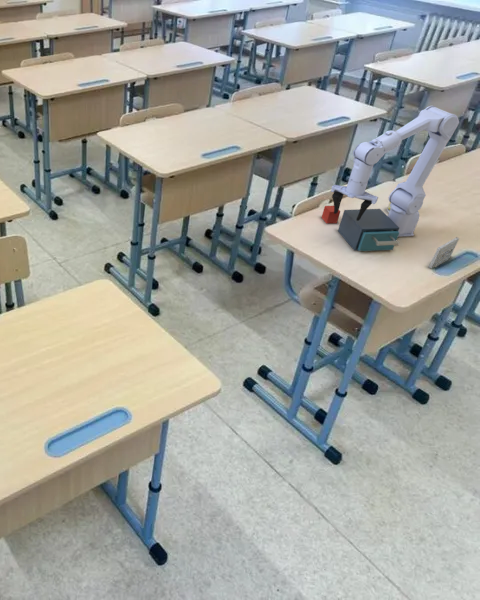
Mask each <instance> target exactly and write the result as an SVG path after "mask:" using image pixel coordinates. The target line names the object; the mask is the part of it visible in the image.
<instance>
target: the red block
mask: <svg viewBox="0 0 480 600" xmlns="http://www.w3.org/2000/svg"><path fill="white" fill-rule="evenodd" d="M340 214H341V210H340V209H339V210H338V212H337V213H336V214H335V213H334V205H324V207H323V211H322V213H321V219H322V220H323V222H324V223H325V224H327V225H329V224H337V223H338V220H339V218H340Z"/></svg>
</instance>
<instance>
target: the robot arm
mask: <svg viewBox="0 0 480 600" xmlns="http://www.w3.org/2000/svg"><path fill="white" fill-rule="evenodd" d="M459 125H460V120H459V117H458V114H455V113H451V112H448V111H446V110H444V109H442V108H438V107H437V106H435V105H429V106H427V107H425V109H422V110H420V112H419V113H418V114H417V116H416V117H415V118H413V120H410V121H409V122H407V123H406V124H404V125H403V126H401V127H399V128H398V129H397V130H387V131H385V132H384V133H383V134H381V135H379V136H377V137H375V138H373V139H372V140H370V141H363V142H360V143H359V144H357V145H356V147H355V149H353V151H352V156H353V161H352V162H353V166H352V168H351V172H350V175H349V178H348V182H347V184H346V186H344V185H338V184H334V185H332V186H331V190H330V192H331V193H333V194H332V195H331V197H332V201H333V206H334V213H335V214H336V213H337V212H338V210H340V208H341V203H342V200H343V198H344V196H347V198H350V199H358V200H362V202H361V204H360V208H359V209H360V212H359V214H358V217H357V221H359V220H360V219H361V217H362V215H363V213H364V212H365V211H366V209H369V207H370V206H371V205H376V204H377V202H378V200H379V196H376V195H374V194H373V193H369V192H368V191H366V189H367V186H368V184H369V180H370V177H371V175H372V171H373V169H374V166H375V164H377V163H378V162H379V161H380V160H381V158H382V157H384V156H385V154H387V153H388V152H391V151H392V150H394V149H396V148H398V147H399V146H401V145H400V144H401V141H404V140H405V139H407V138H410V137H412V136H414V135H417V134H418V133H420V132H422V131H426V132H427V133H428V136H429V138H428V140H427V142H426V144H425V146H424V147H423V149H422V152H420V155H419V157H418V158H417V160H416V162H415V164H414V166H413V168H412V170H411V172H409V175H408V177H407V178H406V181H402V182H399V183H398V184H396V187H395V188H394V189H393V190H392V191H391V192H390V194H389V196H388V201H389V203H391V204H390V206H391V209H390V211H389V212H388V214H387V216H388V217H389V218H390V219H391V220H392V221H393V222H394V223H395V224H396V225H397V226H398V227H399V230H398V232H399V235H398V238H399V237H414V236H415V234H414V233H415V231H416V227H417V225H418V223H419V220H420V212H419V211H420V210H421V209H422V207H423V204H424V199H425V197H426V196H427V194H426V192H425V190H424V184H425V183H426V181H427V179H428V178H429V176H430V174H431V172H432V171H433V169H434V167H435V165H436V164H437V162H438V160H439V158H440V157H441V155H442V153H443V152H444V150H445V148H446V146H447V144H448V143H449V141H450V140H451V138H452V136H453V134H454V133H455V131H456V130H457V128H458V126H459Z"/></svg>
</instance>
